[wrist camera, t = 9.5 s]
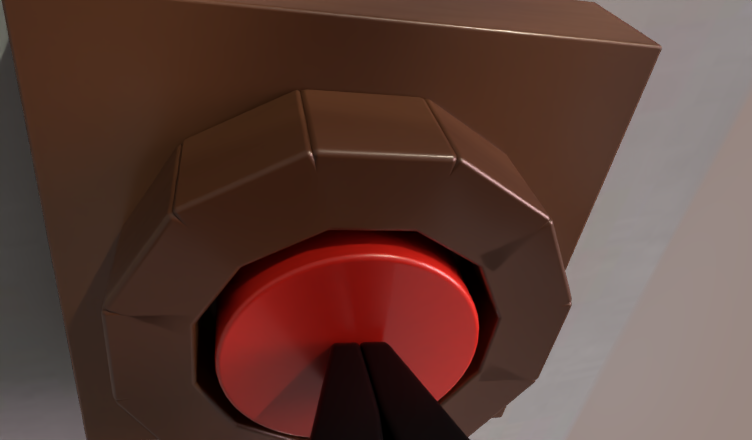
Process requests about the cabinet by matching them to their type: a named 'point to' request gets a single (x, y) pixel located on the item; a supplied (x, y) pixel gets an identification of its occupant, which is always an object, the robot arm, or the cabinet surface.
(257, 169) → the button block
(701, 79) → the cabinet surface
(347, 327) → the button
